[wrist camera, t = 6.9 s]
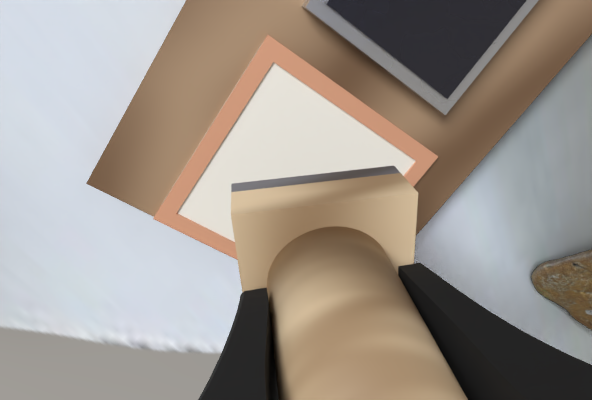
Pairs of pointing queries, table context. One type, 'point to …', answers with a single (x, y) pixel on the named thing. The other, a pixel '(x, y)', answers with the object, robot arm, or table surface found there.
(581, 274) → the fossil
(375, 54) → the ink pad
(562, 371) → the robot arm
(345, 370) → the stamp
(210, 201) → the square coaster
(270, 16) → the board
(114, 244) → the table surface
